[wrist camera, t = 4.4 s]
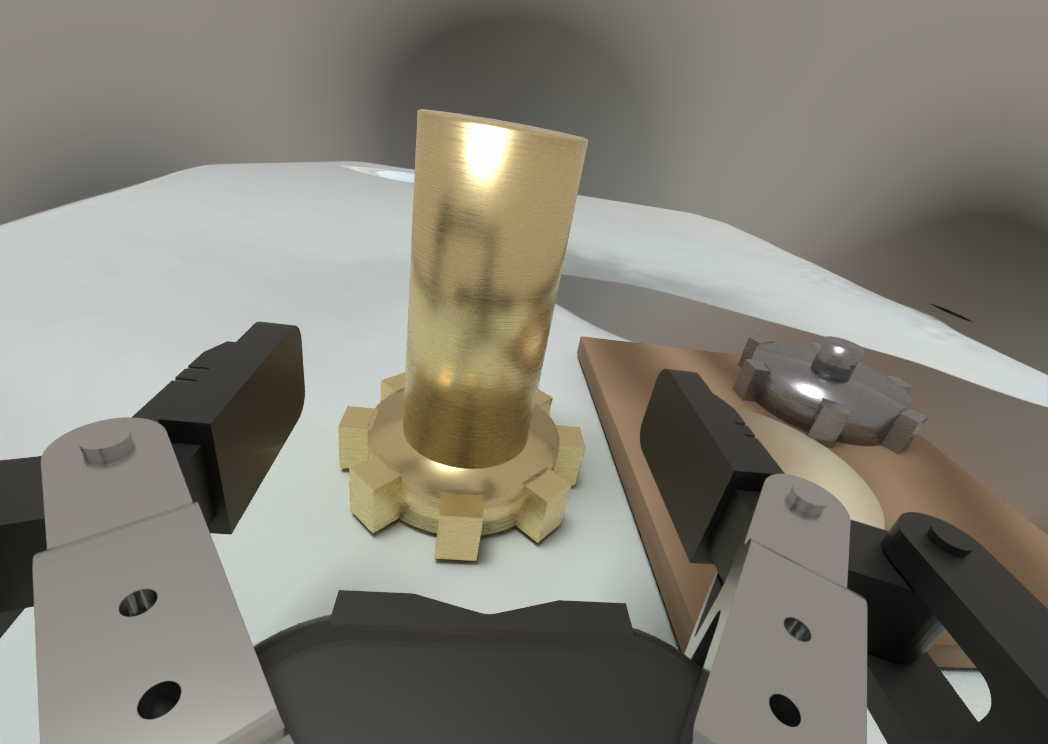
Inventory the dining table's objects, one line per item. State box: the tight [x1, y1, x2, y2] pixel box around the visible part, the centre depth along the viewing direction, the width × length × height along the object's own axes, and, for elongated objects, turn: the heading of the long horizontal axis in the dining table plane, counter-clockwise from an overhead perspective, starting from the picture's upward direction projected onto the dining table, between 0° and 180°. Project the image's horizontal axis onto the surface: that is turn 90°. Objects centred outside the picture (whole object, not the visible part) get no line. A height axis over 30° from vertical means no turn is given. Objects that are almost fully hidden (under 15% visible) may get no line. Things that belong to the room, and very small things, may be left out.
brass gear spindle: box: [339, 110, 588, 561], centre depth 17 cm, size 10×10×13 cm
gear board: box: [577, 336, 1048, 668], centre depth 24 cm, size 18×20×1 cm
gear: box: [733, 335, 928, 454], centre depth 27 cm, size 10×9×4 cm
